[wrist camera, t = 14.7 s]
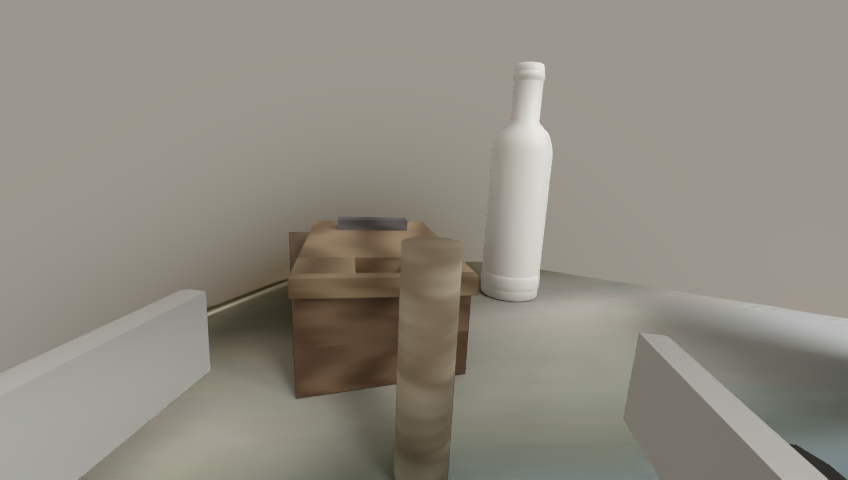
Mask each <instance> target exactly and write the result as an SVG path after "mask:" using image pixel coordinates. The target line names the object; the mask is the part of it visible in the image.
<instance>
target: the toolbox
mask: <svg viewBox="0 0 848 480" xmlns="http://www.w3.org/2000/svg"><path fill="white" fill-rule="evenodd" d="M308 235H309V232H289V245H290V247H289V248H290V273H291V271H292V269H293V267H294V264H295V262H296V260H297V258H298V256H299V254H300V252H301V249H302V247H303V245H304V243H305V241H306V239H307V237H308ZM399 299H400V297H369V298H321V299H291V309H292V329H293V348H294V368H295V387H296V399H297V398H303V397H310V396H317V395H324V394H330V393H337V392H344V391H351V390H357V389H364V388H371V387H377V386H384V385H391V384H397V359H398V329H399ZM470 302H471V295H464V296H460V304H459V319H458V334H457V349H456V364H455V375H458V374H465V369H466V356H467V342H468V329H469V316H470Z"/></svg>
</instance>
